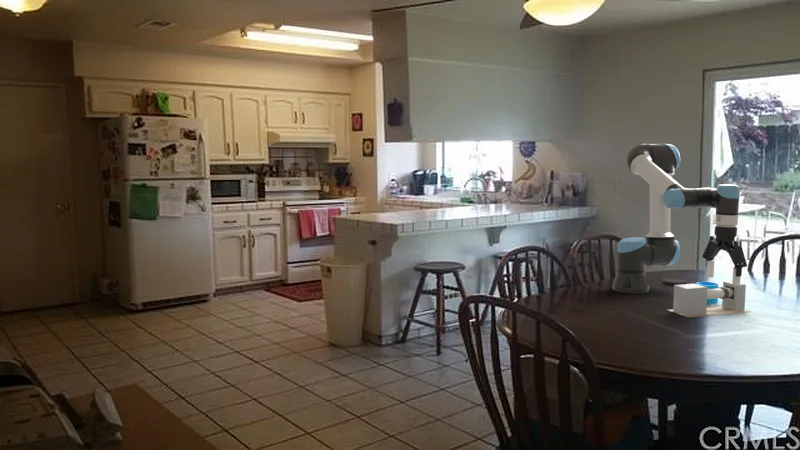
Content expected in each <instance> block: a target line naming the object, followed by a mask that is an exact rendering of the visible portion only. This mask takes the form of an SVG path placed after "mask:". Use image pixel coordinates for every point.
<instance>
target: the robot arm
mask: <svg viewBox="0 0 800 450" xmlns="http://www.w3.org/2000/svg"><path fill="white" fill-rule="evenodd" d="M625 164H626V166H627V169H628V170H629V171H630V172H631V173H632V174H634V175H635V176H640V177H641V178H642V179H643V180H644V181H645V182H647V184H649V232H648V233H647V234H646V235H645V236H646V237H641V236H635V237H634V236H633V237H626V238H622V239H621V240H619V241H618V243H617V244H618V245H617V249H616V250H617V268H616V274H615V278H614V281H613V283H612V290H613V291H614V292H617V293H620V294H621V293H622V294H628V295H629V294H632V295H633V294H635V295H641V294H646V293H649V290H650V286H649V283H648V280H647V276H646V267H666V266H672V265H674V264H675V263H677V262H678V260H679V258H680V254H681V246H680V243H679V241H678V240H676V239H675V235H674V234H673V233H672V232H671V230H672V229H671V225H672V224H671V223H672V222H671V221H672V219H671V215H672V213H671V209H675V210H676V209H691V208H692V209H693V208H696V209H698V208H701V209H702V208H704V209H705V208H710V209H715V222H714V223H715V225H714V235H709V238H708V243H707V245H706V247H705V249H704V251H703V253H702V256H701V257H702V258H703V259H705V261H706V262H705V265H706V266H705V268H706V278H714V277H715V276H714V273H715V257H716V256H717V255H718V254H719V253H720V251H725V252H726V253H728V255H729V257H730V259H731V262H732V263H733V266H734V267H733V268H732V269H733V270H732V280H731V281H732V285H740V283H741V277H742V271H743V268H747V267H748V264H747V260H746V257H745V254H744V250H743V247H742V246H743V245H742V242H743V241H742V240H736V239H735V238H736V237H737V234H738V227H737V226H738V224H739V223H738V220H739V207H740V206H739V205H740V196H741V194H740V186H739V185H737V184H730V183H729V184H726V183H724V184H718V185H717V187H716V188H715V187H714V188H713V187H707V186H705V187H699V188H693V187H691V188H686V187H683V186H682V185H681V184H680V183H678V181H676V180H675V179H674V178H673V176H674V175H675V171H676V170H677V169H679V168H680V164H681V155H680V151H679V150H678V148H677V147H676V146H675V145H673V144H670V143H648V144H647V143H639V144H637V145H634V146H633V147H631V148H630V149H629V150H628V152H627V153H626V155H625Z"/></svg>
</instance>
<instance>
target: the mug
mask: <svg viewBox="0 0 800 450" xmlns="http://www.w3.org/2000/svg"><path fill="white" fill-rule="evenodd" d="M695 284H697V285H701V286H705V287H708V288H707V289H718V288H719V283H716V282H712V281H697V282H695ZM718 301H719V298H713V299H707V304H717V303H718Z"/></svg>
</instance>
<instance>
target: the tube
mask: <svg viewBox="0 0 800 450" xmlns="http://www.w3.org/2000/svg"><path fill="white" fill-rule="evenodd" d="M728 297H734V287H732V288H726V287H723V286H722V287H721V286H718V289H707V299H713V298H718V299H721V300H722V299H726V298H728Z"/></svg>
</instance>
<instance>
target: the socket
mask: <svg viewBox="0 0 800 450" xmlns="http://www.w3.org/2000/svg"><path fill="white" fill-rule="evenodd" d="M732 281H733V280H729V281H726V280H725V281H723V282H722V283H723V284H722V287H726V288H732V287H734V297H728V298H726V299H721V305H722V307H724V308H727V309H730V310H733V311H745V310H746V287H747V285H746V284H745V283H741V282H740V285H732Z"/></svg>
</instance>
